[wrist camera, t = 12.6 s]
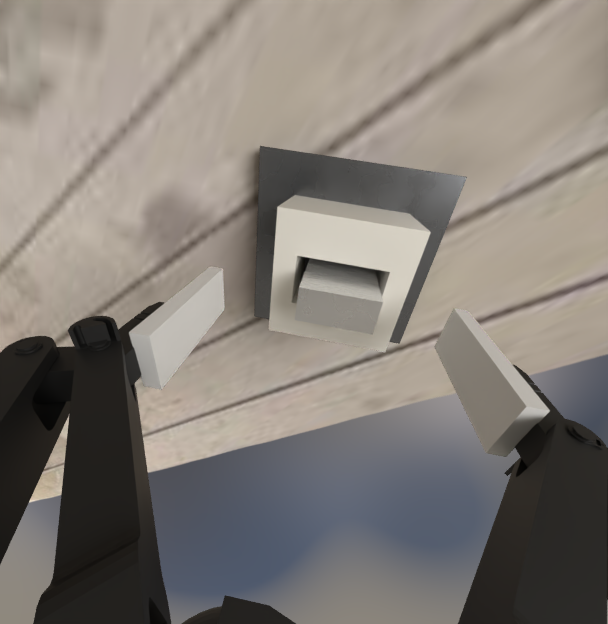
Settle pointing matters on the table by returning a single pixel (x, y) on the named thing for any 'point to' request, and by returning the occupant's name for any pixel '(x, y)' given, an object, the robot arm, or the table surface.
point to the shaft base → (359, 191)
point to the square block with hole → (343, 261)
